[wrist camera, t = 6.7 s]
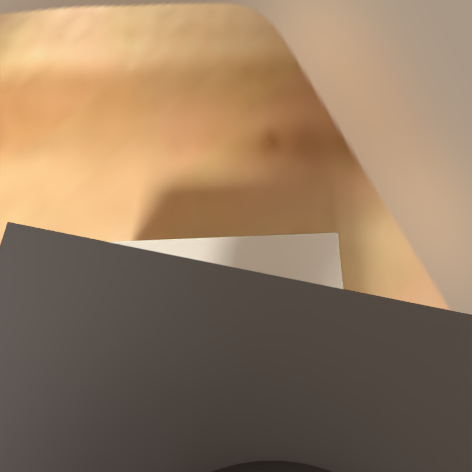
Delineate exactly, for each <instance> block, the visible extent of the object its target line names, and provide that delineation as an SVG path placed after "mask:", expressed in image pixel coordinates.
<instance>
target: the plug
mask: <svg viewBox="0 0 472 472" xmlns="http://www.w3.org/2000/svg"><path fill="white" fill-rule="evenodd" d="M0 472H472V315H470V314H464V313H460V312H454V311H450V310H445V309H440V308H435V307H430V306H425V305H420V304H415V303H410V302H405V301H400V300H395V299H390V298H385V297H380V296H375V295H370V294H365V293H360V292H355V291H350V290H345V289H340V288H335V287H330V286H325V285H320V284H315V283H310V282H305V281H300V280H295V279H290V278H285V277H280V276H275V275H270V274H265V273H260V272H255V271H250V270H245V269H240V268H235V267H230V266H225V265H220V264H215V263H210V262H205V261H200V260H195V259H190V258H185V257H180V256H175V255H170V254H165V253H160V252H155V251H150V250H145V249H140V248H135V247H130V246H125V245H120V244H115V243H110V242H105V241H100V240H95V239H90V238H85V237H80V236H75V235H70V234H65V233H60V232H55V231H50V230H45V229H40V228H35V227H30V226H25V225H20V224H15V223H10V222H8V223H7V226H6V229H5V232H4V236H3V239H2V242H1V245H0Z"/></svg>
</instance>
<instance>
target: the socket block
mask: <svg viewBox="0 0 472 472" xmlns="http://www.w3.org/2000/svg"><path fill="white" fill-rule="evenodd" d="M110 243H115V244H120V245H125V246H130V247H135V248H140V249H145V250H150V251H155V252H160V253H165V254H170V255H175V256H180V257H185V258H190V259H195V260H200V261H205V262H210V263H215V264H220V265H225V266H230V267H235V268H240V269H245V270H250V271H255V272H260V273H265V274H270V275H275V276H280V277H285V278H290V279H295V280H300V281H305V282H310V283H315V284H320V285H325V286H330V287H335V288H340V289H343V280H342V270H341V259H340V249H339V239H338V233H313V234H288V235H264V236H239V237H214V238H189V239H165V240H140V241H115V242H110Z"/></svg>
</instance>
